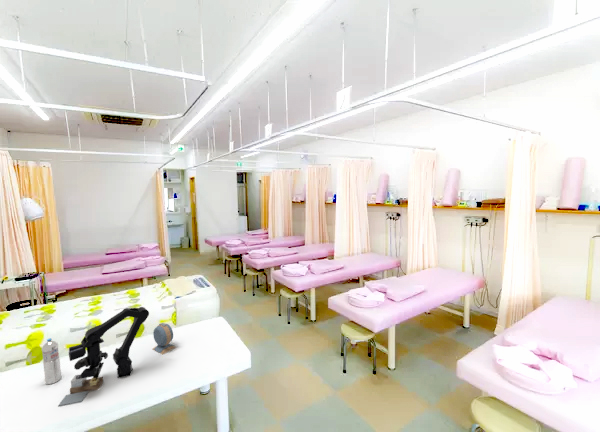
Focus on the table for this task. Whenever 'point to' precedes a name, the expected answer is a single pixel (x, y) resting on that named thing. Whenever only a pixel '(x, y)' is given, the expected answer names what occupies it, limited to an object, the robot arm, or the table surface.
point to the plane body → (87, 386)
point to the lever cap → (77, 381)
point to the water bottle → (51, 362)
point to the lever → (94, 381)
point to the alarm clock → (163, 338)
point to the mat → (73, 398)
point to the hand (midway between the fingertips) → (96, 379)
